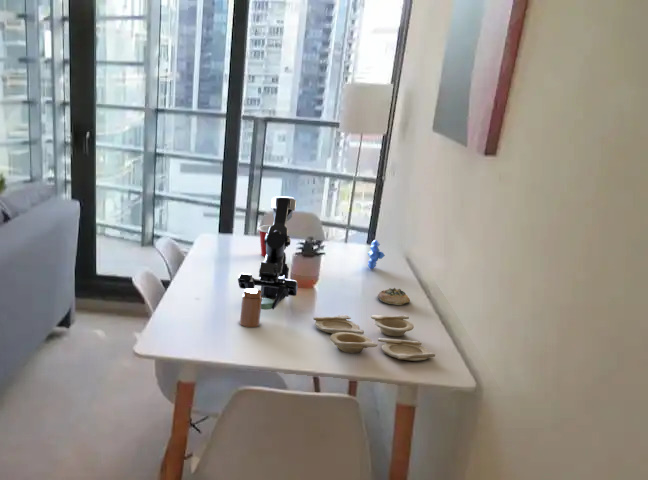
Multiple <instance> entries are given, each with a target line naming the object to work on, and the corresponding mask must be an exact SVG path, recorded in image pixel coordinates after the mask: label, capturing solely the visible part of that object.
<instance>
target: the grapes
mask: <svg viewBox="0 0 648 480" xmlns="http://www.w3.org/2000/svg"><path fill="white" fill-rule="evenodd" d="M370 245H371V246H370V248H369V249H370V251H369V252H367V256H368V257H369V260H368V261H367V263H368V264H367V266H368V268H369V269H370V270H373V269H374V268H376V267H377V264H378V263H377V262H378V261H379V260H381V259H383V258H384V257H385V256H386V255H385V254H384V252H383V251H381V249H380V248H379V247H380V245H381V244H380V242H379V240H377V239H374V240H373V241H372V242H371V243H370Z"/></svg>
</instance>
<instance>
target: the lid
mask: <svg viewBox="0 0 648 480" xmlns="http://www.w3.org/2000/svg"><path fill="white" fill-rule="evenodd" d="M273 303H274V300H273V299H272V298H266V297H262V304H261V310H267V311H268V310H273V309H272V307H273Z"/></svg>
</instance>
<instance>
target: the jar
mask: <svg viewBox="0 0 648 480" xmlns="http://www.w3.org/2000/svg"><path fill="white" fill-rule="evenodd" d="M261 294H262V293H261V289H258V288H254V289H243V294H242V296H241V307H240V317H239V325H241V326H243V327H246V328H257V327H259V326H260V321H261V313H262V312H261V311H262V309H261V304H262V298H263V295H261Z"/></svg>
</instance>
